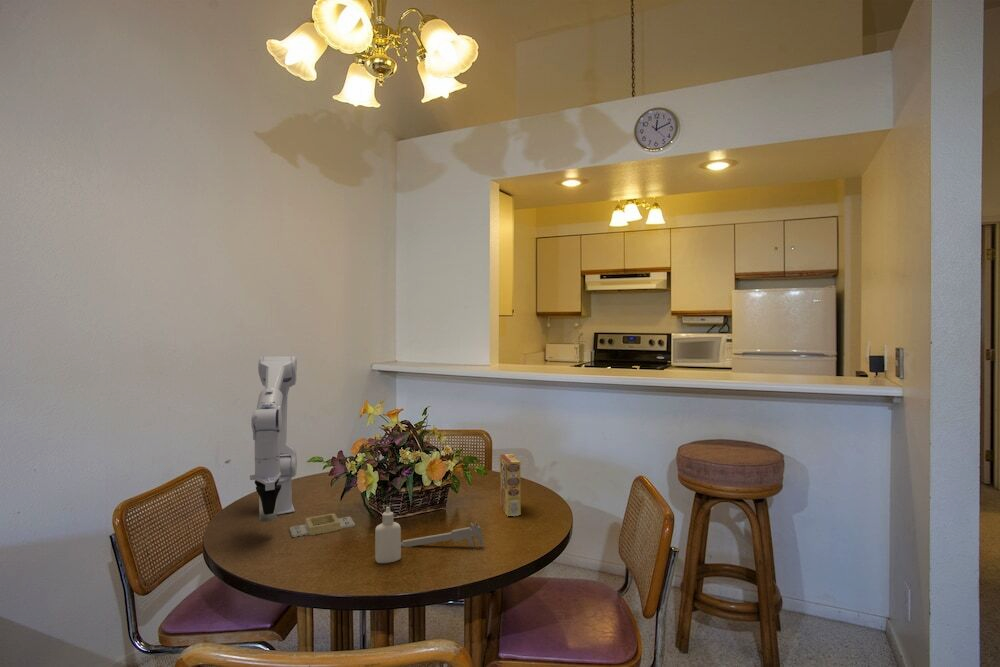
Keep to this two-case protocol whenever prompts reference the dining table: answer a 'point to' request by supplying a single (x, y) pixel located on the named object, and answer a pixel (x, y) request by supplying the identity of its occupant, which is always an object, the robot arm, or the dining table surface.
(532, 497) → the dining table surface
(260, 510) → the translucent cylinder
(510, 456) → the candy box
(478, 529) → the caliper
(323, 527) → the cream tabbed socket tray
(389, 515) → the eye dropper bottle
